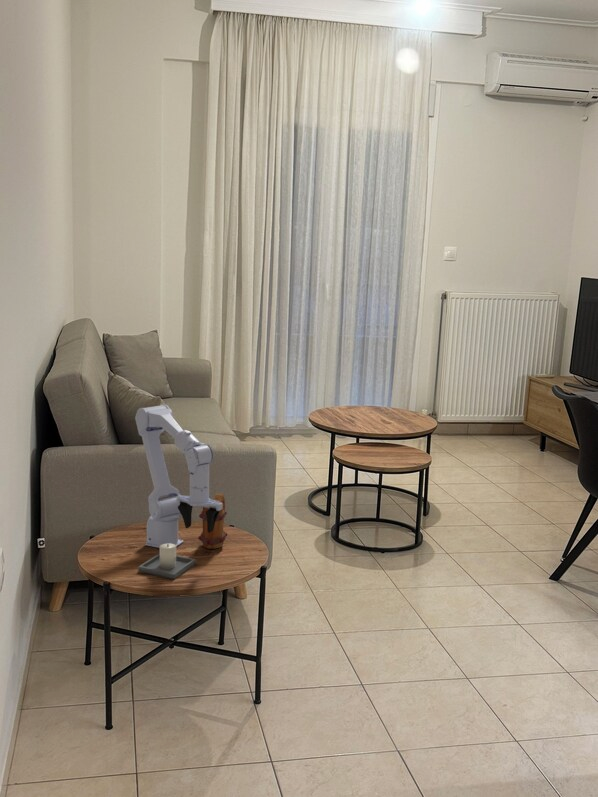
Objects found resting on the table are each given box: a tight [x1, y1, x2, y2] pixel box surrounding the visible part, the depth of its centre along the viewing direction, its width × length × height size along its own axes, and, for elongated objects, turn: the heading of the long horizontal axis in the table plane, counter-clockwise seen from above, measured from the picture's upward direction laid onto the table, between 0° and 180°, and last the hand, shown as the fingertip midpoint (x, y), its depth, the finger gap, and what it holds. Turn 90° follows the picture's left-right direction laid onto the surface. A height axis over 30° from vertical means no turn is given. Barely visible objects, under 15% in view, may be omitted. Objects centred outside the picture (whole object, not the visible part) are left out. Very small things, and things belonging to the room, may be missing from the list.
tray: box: [137, 552, 197, 581], centre depth 236 cm, size 12×12×2 cm
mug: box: [198, 493, 228, 550], centre depth 254 cm, size 15×8×15 cm, turn 168°
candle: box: [159, 543, 177, 569], centre depth 236 cm, size 5×5×7 cm
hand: (199, 529), depth 239 cm, fingers open, 7 cm apart
